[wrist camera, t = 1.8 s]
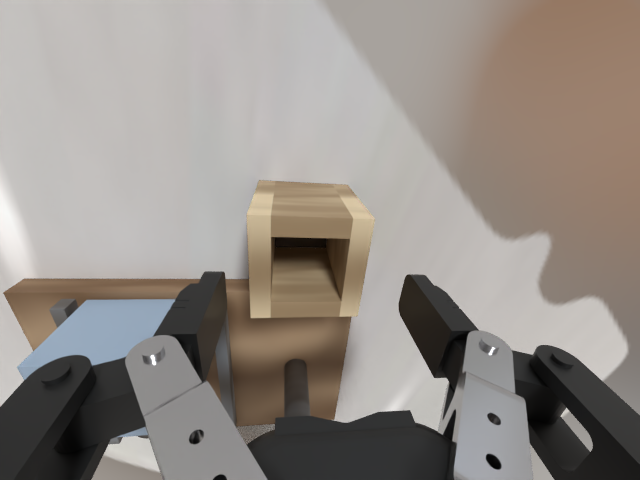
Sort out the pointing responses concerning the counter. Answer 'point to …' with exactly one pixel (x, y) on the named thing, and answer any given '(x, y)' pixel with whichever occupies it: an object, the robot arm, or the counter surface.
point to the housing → (101, 333)
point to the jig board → (218, 345)
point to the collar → (307, 250)
